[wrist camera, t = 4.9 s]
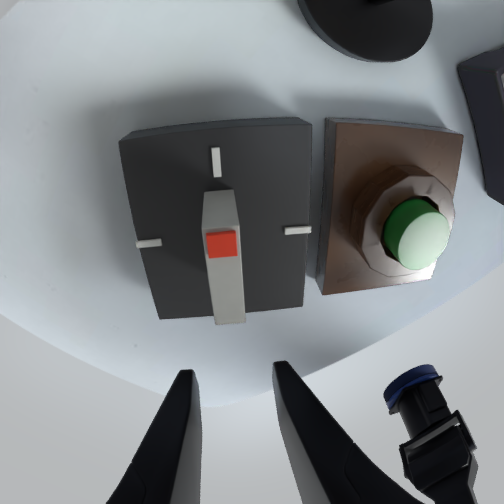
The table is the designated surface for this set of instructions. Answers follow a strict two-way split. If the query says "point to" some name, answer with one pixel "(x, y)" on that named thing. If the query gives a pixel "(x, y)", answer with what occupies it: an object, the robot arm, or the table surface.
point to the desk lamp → (371, 26)
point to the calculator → (488, 114)
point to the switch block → (378, 197)
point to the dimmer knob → (223, 256)
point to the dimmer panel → (247, 203)
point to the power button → (416, 233)
